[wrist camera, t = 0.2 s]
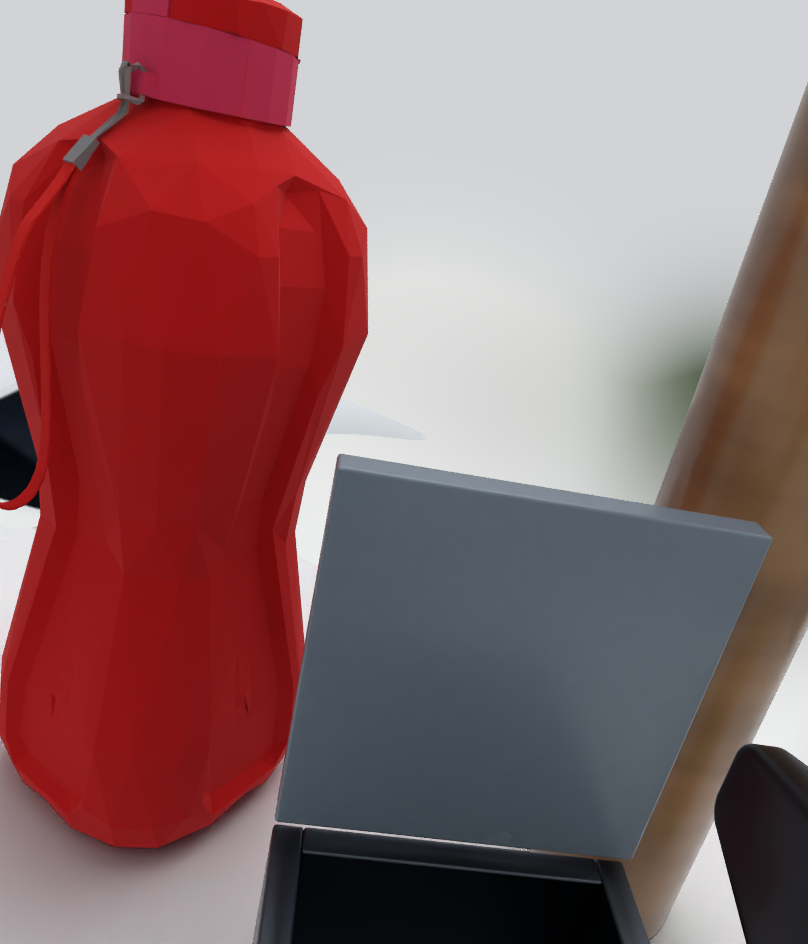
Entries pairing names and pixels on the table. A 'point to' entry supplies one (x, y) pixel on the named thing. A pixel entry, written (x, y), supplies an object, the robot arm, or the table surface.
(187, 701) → the red rounded piece
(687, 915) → the table surface
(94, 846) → the table surface
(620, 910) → the open box
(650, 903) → the tall beige cylinder
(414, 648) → the lid
